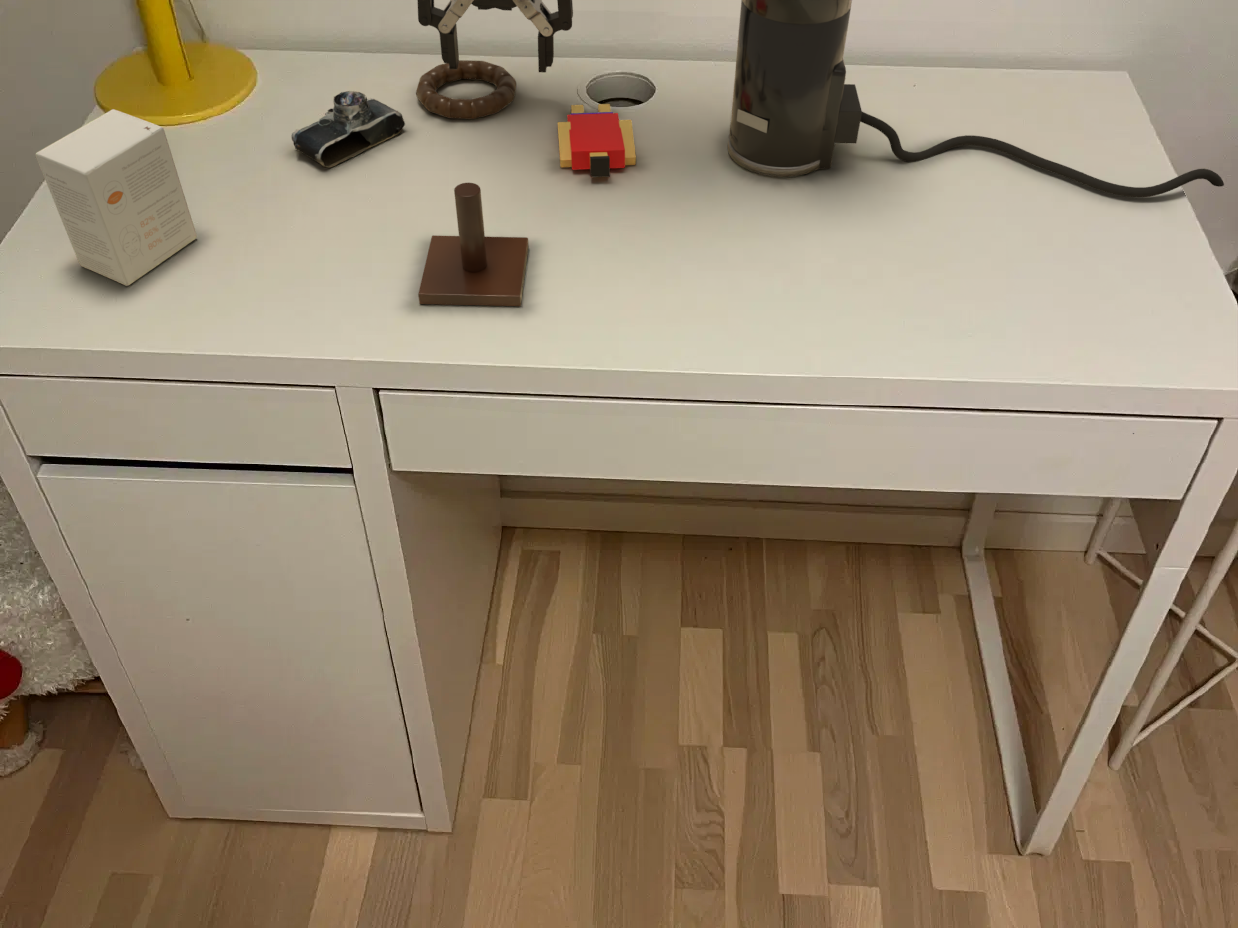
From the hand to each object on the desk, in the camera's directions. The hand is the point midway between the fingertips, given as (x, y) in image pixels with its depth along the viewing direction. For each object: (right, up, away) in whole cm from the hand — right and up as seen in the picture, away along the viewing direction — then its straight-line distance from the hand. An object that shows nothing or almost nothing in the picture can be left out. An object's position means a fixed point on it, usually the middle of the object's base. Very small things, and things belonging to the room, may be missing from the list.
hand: (498, 67), depth 111 cm
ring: (-3, -1, +2) cm, 4 cm away
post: (0, -23, -18) cm, 29 cm away
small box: (-28, -21, -16) cm, 38 cm away
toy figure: (+9, -9, -4) cm, 14 cm away
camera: (-14, -8, -3) cm, 16 cm away
